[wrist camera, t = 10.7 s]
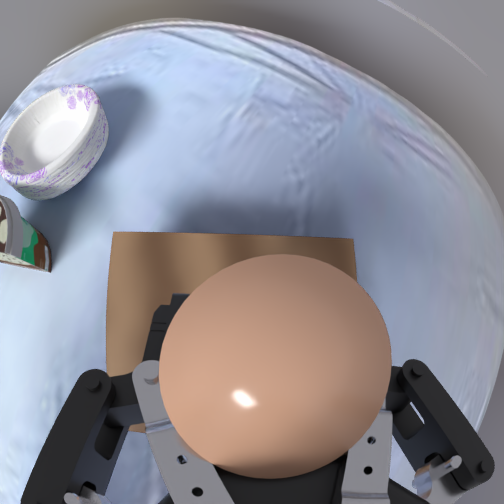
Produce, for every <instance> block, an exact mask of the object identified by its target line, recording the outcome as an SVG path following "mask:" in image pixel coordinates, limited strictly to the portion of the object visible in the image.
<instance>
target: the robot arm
mask: <svg viewBox="0 0 504 504" xmlns="http://www.w3.org/2000/svg"><path fill="white" fill-rule="evenodd" d="M189 296H190V294H184V293H173V294H172V298H171V303H170V305H160V306H159V307H158V308H157V310H156V311H155V312H154V314H153V318H152V322H151V326H150V332H149V334H148V338H147V342H146V347H145V351H144V356H143V360H142V362H141V363H140V364H139V365H137V366H136V368H135V369H134V371H132V372H131V373H128V374H124V375H118V376H112V377H109V375H108V374H107V373H106V372H104V371H102V370H99V369H92V370H88V371H86V372H84V373H83V374H82V375H81V376H80V377H79V379H78V380H77V382H76V384H75V386H74V387H73V389H72V391H71V393H70V395H69V396H68V398H67V400H66V402H65V404H64V406H63V407H62V409H61V411H60V413H59V415H58V417H57V419H56V421H55V423H54V425H53V427H52V429H51V431H50V433H49V435H48V437H47V439H46V441H45V443H44V445H43V448H42V450H41V452H40V454H39V456H38V459H37V461H36V463H35V465H34V468H33V470H32V472H31V475H30V477H29V480H28V482H27V485H26V487H25V490H24V492H23V495H22V498H21V504H112V503H111V502H110V501H109V500H108V499H107V498H106V497H105V496H104V495H105V492H106V489H107V486H108V484H109V481H110V478H111V475H112V472H113V470H114V467H115V464H116V461H117V459H118V456H119V453H120V451H121V448H122V445H123V443H124V440H125V438H126V435H127V432H128V430H129V427H130V425H135V424H141V423H145V426H146V428H145V431H146V435H147V438H148V441H149V444H150V447H151V449H152V452H153V455H154V457H155V460H156V463H157V465H158V468H159V470H160V473H161V475H162V478H163V480H164V482H165V485H166V487H167V489H168V491H169V493H168V494H167V495H166V496H165V497H164V498H163V499H162V500H161V501H160V502H159V503H158V504H454V502H456V501H457V500H458V498H460V497H461V496H462V495H463V494H464V493H465V492H466V491H468V490H470V489H472V488H474V487H476V486H478V485H480V484H482V483H484V482H486V481H487V480H489V479H490V478H491V476H492V474H493V472H494V466H495V465H494V460H493V457H492V456H491V454H490V453H489V451H488V450H487V448H486V447H485V445H484V443H483V442H482V440H481V439H480V438H479V436H478V435H477V433H476V432H475V430H474V429H473V427H472V426H471V424H470V423H469V422H468V420H467V419H466V417H465V416H464V415H463V413H462V412H461V410H460V409H459V408H458V406H457V405H456V404H455V402H454V401H453V400H452V398H451V397H450V396H449V394H448V393H447V392H446V390H445V389H444V388H443V386H442V385H441V384H440V382H439V381H438V380H437V379H436V377H435V376H434V375H433V373H432V372H431V371H430V370H429V368H428V367H427V366H426V365H425V364H424V363H423V362H421V361H419V360H415V359H411V360H408V361H406V362H405V363H404V365H403V366H402V367H397V366H391V376H390V382H389V386H388V391H387V394H386V397H385V399H384V402H383V405H382V407H381V409H380V411H379V413H378V415H377V417H376V418H375V420H374V422H373V423H372V425H371V426H370V428H369V429H368V430H367V432H366V433H365V434H364V435H363V436H362V438H361V439H360V440H359V441H358V442H357V443H356V444H355V445H354V446H353V447H352V448H350V449H349V450H348V451H347V452H345V453H344V454H343V455H341V456H340V457H339V458H337V459H335V460H334V461H332V462H330V463H329V464H327V465H325V466H323V467H321V468H318V469H316V470H314V471H311V472H308V473H305V474H301V475H297V476H292V477H286V478H275V479H265V478H253V477H247V476H242V475H238V474H235V473H232V472H229V471H226V470H224V469H222V468H220V467H218V466H216V465H214V464H212V463H210V462H209V461H207V460H206V459H204V458H203V457H201V456H200V455H199V454H197V453H196V452H195V451H194V450H193V449H192V448H191V447H190V446H189V445H188V444H187V443H186V442H185V441H184V440H183V438H182V437H181V436H180V435H179V434H178V432H177V430H176V429H175V427H174V426H173V424H172V422H171V421H170V418H169V416H168V414H167V412H166V409H165V407H164V403H163V399H162V396H161V391H160V383H159V360H160V355H161V349H162V344H163V341H164V338H165V335H166V333H167V330H168V328H169V326H170V324H171V322H172V320H173V318H174V316H175V314H176V313H177V311H178V310H179V308H180V307H181V305H182V304H183V303H184V301H185V300H186V299H187V298H188V297H189ZM410 402H412V403H413V404H414V406H415V407H416V409H417V410H418V412H419V413H420V415H421V416H422V418H423V419H424V424H423V422H422V421H421V419H420V418H419V416H418V415H417V413H416V412H415V411H414V409H413V408H412V406H411V405H410ZM392 435H393V436H394V438H395V440H396V441H397V443H398V444H399V446H400V448H401V449H402V451H403V453H404V454H405V456H406V457H407V459H408V461H409V462H410V464H411V466H412V467H413V469H414V471H415V472H416V474H415V477H414V480H413V481H412V486H413V488H415V489H417V495H416V494H414V493H412V492H411V491H409V490H408V489H406V488H404V487H403V486H401V485H399V484H398V483H396V482H395V481H393V480H392V479H390V478H389V471H390V460H391V445H392Z"/></svg>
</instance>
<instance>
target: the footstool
mask: <svg viewBox="0 0 504 504" xmlns="http://www.w3.org/2000/svg"><path fill="white" fill-rule="evenodd" d="M276 254H289V255H300V256H305V257H309V258H314V259H317V260H319V261H322V262H325V263H328V264H330V265H332V266H334V267H336V268H337V269H339V270H341V271H343V272H344V273H346V274H347V275H348V276H350V277H351V278H353V279H354V280H355V281H356V282H357V275H356V262H355V252H354V242H353V239H347V238H325V237H302V236H276V235H247V234H213V233H169V232H113V238H112V246H111V255H110V265H109V276H108V290H107V310H106V364H107V374H108V375H109V377H112V376H118V375H124V374H128V373H131V372H132V371H134V369H135V368H136V366H137V365H139V364H140V363H141V362H142V360H143V356H144V351H145V347H146V342H147V338H148V334H149V332H150V326H151V322H152V318H153V314H154V312H155V311H156V310H157V308H158V307H159V306H160V305H170V303H171V298H172V294H173V293H184V294H190V295H191V293H192V292H193V291H194V290H195V289H196V288H197V287H199V286H200V285H201V284H202V283H203V282H205V281H206V280H207V279H208V278H210V277H211V276H213V275H214V274H216V273H218V272H219V271H221V270H222V269H224V268H227V267H229V266H231V265H233V264H235V263H237V262H241V261H244V260H247V259H250V258H254V257H259V256H265V255H276ZM145 428H146V426H145V423H141V424H135V425H130V427H129V430H128V431H134V432H141V433H146V431H145Z"/></svg>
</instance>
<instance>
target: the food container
mask: <svg viewBox="0 0 504 504" xmlns="http://www.w3.org/2000/svg"><path fill="white" fill-rule="evenodd" d="M0 262H1V263H4V264H9V265H14V266H18V267H23V268H28V269H34V270H39V271H44V272H50V273H51V265H52V261H51V250H50V247H49V244H48V241H47V240H46V238H45V237H44V236H43V235H42V233H40V232H39V231H38V230H37V229H35V228H34V227H33V226H32V225H31V224H29V223H28V222H27V221H26V220H25V219H23V218H22V217H21V215H20V212H19V210H18V208H17V206H16V205H15V203H14V202H13V201H12V200H11V199H9V198H7V197H4V196H1V195H0Z"/></svg>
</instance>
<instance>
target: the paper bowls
mask: <svg viewBox="0 0 504 504" xmlns="http://www.w3.org/2000/svg"><path fill="white" fill-rule="evenodd" d="M108 136H109V128H108V121H107V118H106V115H105V112H104V110H103V108H102V105H101V102H100V99H99V97H98V95H97V93H96V92H95V91H94V90H93V89H91V88H89V87H87V86H85V85H79V84H73V85H66V86H62V87H59V88H56V89H54V90H51V91H49V92H47V93H45V94H44V95H42V96H40V97H39V98H37V99H36V100H35V101H33V102H32V103H31V104H30V105H28V106H27V107H26V108H25V109H24V110H23V111H22V112H21V113H20V114H19V116H18V117H17V118H16V119H15V120H14V122H13V123H12V125H11V126H10V128H9V129H8V131H7V133H6V135H5V137H4V139H3V141H2V144H1V147H0V173H1V175H2V177H3V178H4V180H5V181H6V182H7V183H8V184H9V185H11V186H12V187H13V188H14V189H15V190H16V191H18V192H19V193H20V194H21V195H23V196H24V197H26V198H28V199H31V200H46V199H51V198H54V197H56V196H59V195H60V194H62V193H64V192H66V191H68V190H69V189H71V188H72V187H73V186H75V185H76V184H78V183H79V182H80V181H81V180H82V179H83V178H84V177H85V176H86V175H87V174H88V173H89V172H90V171H91V169H92V168H93V167H94V165H95V164H96V163H97V161H98V160H99V158H100V157H101V155H102V153H103V151H104V149H105V147H106V144H107V140H108Z"/></svg>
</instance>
